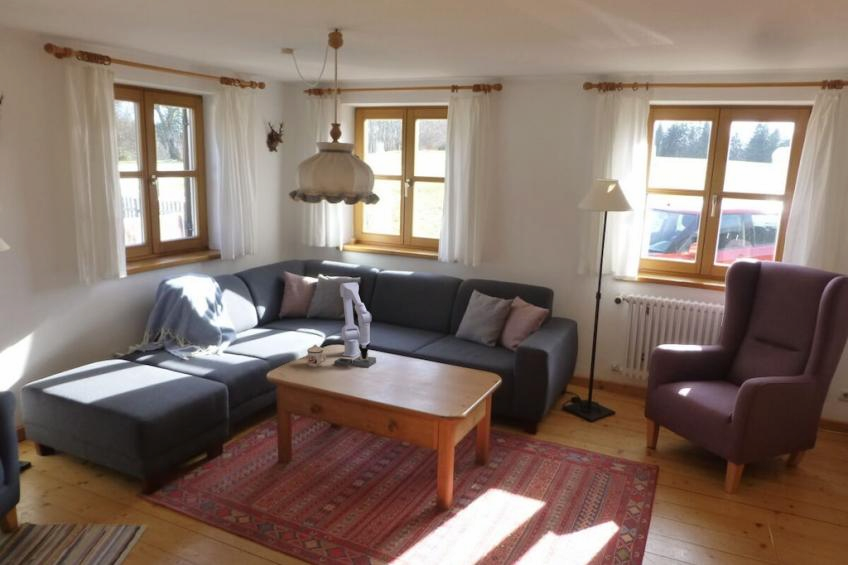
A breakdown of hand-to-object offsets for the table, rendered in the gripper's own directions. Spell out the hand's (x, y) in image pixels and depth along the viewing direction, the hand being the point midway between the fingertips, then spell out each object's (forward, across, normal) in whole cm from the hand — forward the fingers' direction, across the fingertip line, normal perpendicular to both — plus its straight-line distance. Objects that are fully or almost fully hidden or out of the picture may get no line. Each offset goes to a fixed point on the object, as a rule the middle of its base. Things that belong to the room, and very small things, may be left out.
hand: (364, 356), depth 355 cm
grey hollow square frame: (+4, +2, -12) cm, 13 cm away
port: (+4, 0, 0) cm, 4 cm away
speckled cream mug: (+5, +3, -27) cm, 27 cm away
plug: (+4, 0, 0) cm, 5 cm away
